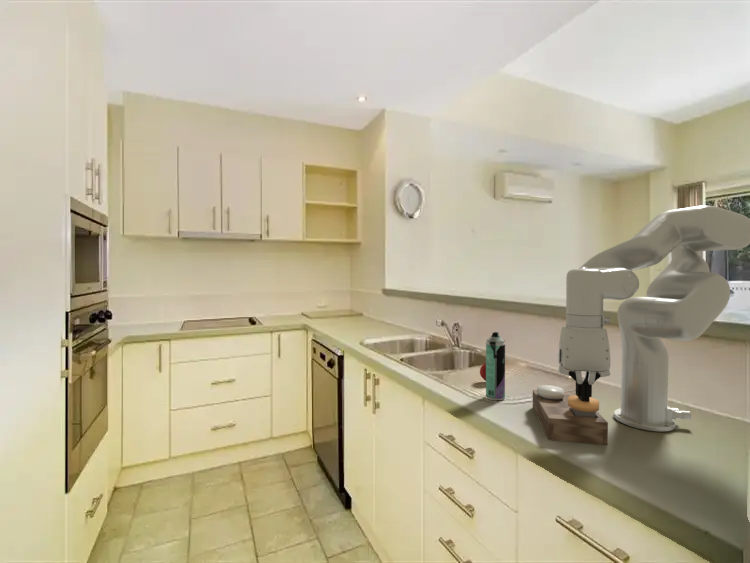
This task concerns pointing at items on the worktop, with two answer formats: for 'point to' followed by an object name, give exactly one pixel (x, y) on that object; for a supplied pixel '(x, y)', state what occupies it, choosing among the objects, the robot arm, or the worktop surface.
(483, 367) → the onion
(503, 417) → the worktop surface
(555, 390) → the white button
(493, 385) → the spray can
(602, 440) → the button panel
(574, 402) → the orange button
